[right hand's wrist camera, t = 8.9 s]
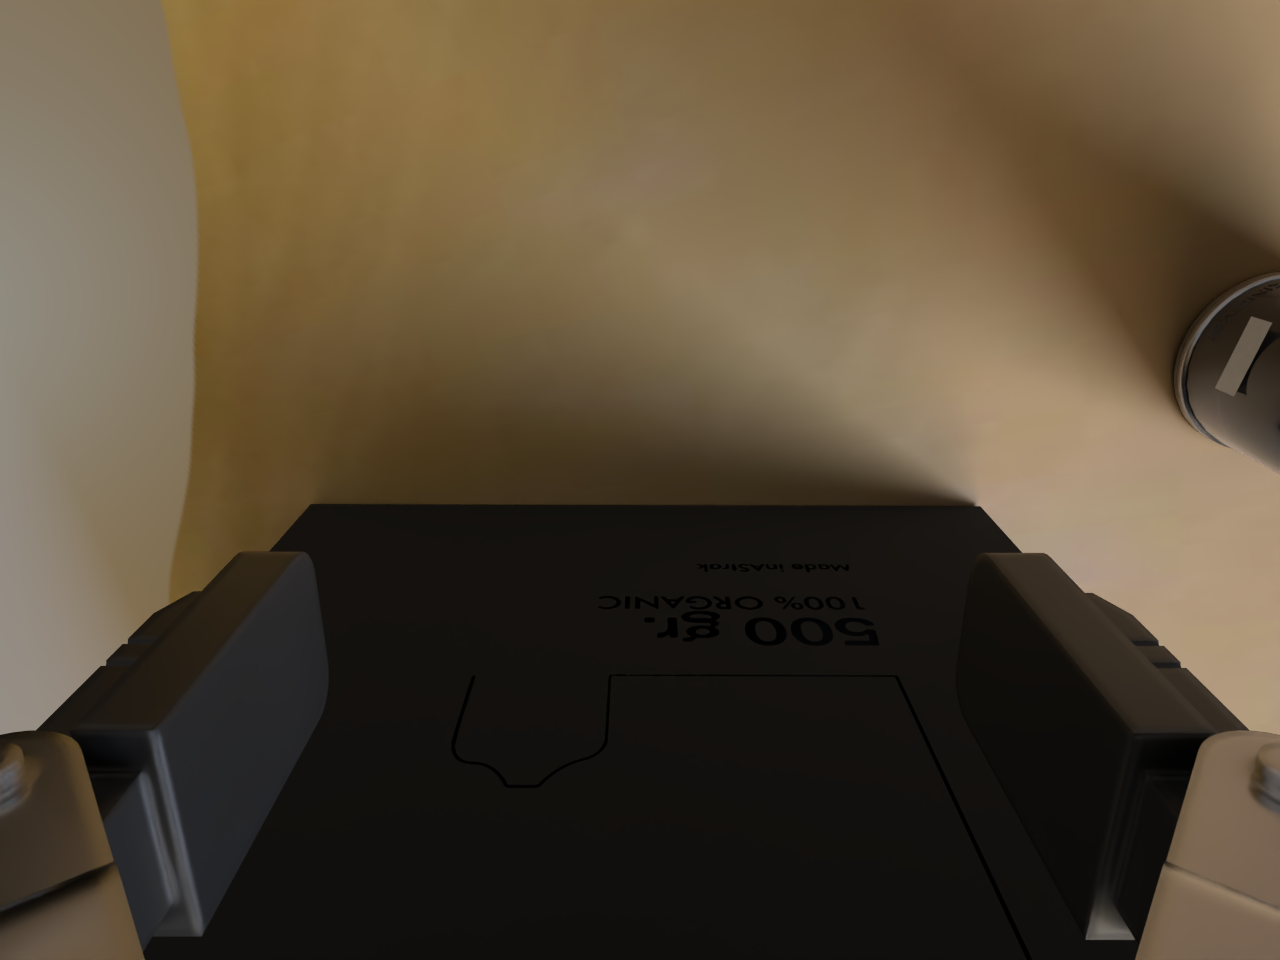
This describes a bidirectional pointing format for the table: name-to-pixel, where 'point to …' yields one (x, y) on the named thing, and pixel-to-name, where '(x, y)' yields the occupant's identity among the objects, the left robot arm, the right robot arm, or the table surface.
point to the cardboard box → (642, 746)
